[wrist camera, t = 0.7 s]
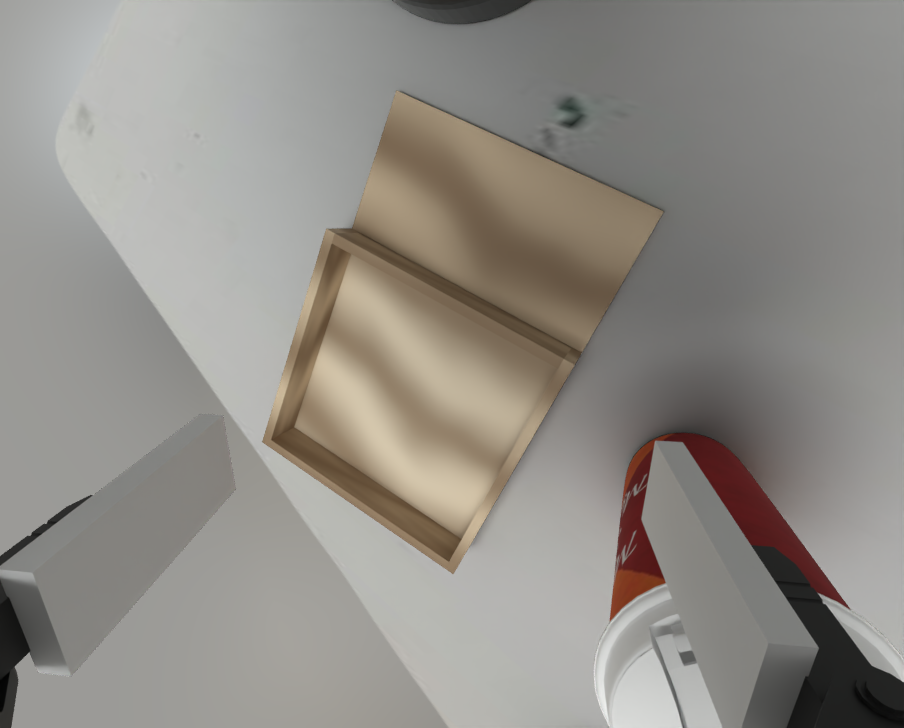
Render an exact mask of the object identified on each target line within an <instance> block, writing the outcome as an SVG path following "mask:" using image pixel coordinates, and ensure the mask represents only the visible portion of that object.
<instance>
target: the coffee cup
mask: <svg viewBox="0 0 904 728" xmlns="http://www.w3.org/2000/svg"><path fill="white" fill-rule="evenodd" d="M655 441H671V442H683V443H684V445H685V446H686V448H687V449H688V451H689V452H690V454H691V455H692V457H693V458H694V460H695V461H696V463H697V464H698V466H699V468H700V469H701V471H702V472H703V474H704V475H705V477H706V478H707V480H708V481H709V483H710V484H711V486H712V487H713V489H714V490H715V492H716V493H717V495H718V496H719V498H720V499H721V501H722V502H723V504H724V505H725V507H726V508H727V510H728V511H729V513H730V514H731V516H732V517H733V519H734V520H735V522H736V523H737V525H738V526H739V528H740V529H741V531H742V533H743V534H744V536H745V537H746V539H747V540H748V542H749V543H750V545H757V546H770V547H775V548H776V549H777V550H779V551H780V552H781V553H782V554H784V555H785V556H786V557H787V558H789V559H790V560H791V561H792V562H794V563H795V564H796V565H797V566H798V568H799V569H800V570H801V572H802V573H803V574H804V576H805V577H806V578H807V580H808V581H809V582H810V586H811V587H812V588H814V589H815V590H816V592H817V593H818V594H819V596H820V597H821V599H822V600H823V601H822V602H823V604H826V605H827V607H828V608H829V609H830V611H831V612H832V613H833V615H834V616H835V617H836V619H837V620H838V621H839V623H840V624H841V625H842V627H843V628H844V629H845V631H846V632H847V633H848V635H849V636H850V637H851V639H852V640H853V641H854V643H855V644H856V645H857V647H858V648H859V649H860V651H861V652H862V653H863V655H864V656H865V658H866V659H867V660H868V662H869V663H870V664H871V666H873V667H876V668H878V669H880V670H883V671H885V672H887V673H890V674H892V675H893V676H895V677H896V678H898V679H899V680H901V681H902V682H904V659H903V657H902V656H901V654H900V653H899V652H898V651H897V650H896V649H895V648H894V646H893V645H892V644H891V643H890V642H889V641H888V640H887V639H886V637H885V636H884V635H883V634H882V633H880V632H879V631H878V630H877V629H876V628H874V627H873V626H872V625H871V624H870V623H868V622H867V621H866V620H865V619H864V618H862V617H861V616H859V615H858V614H856V613H855V612H853V611H851V609H850V608H849V607H848V605H847V604H846V603H845V601H844V600H843V599H842V597H841V596H840V595H839V593H838V592H837V590H836V589H835V588H834V586H833V585H832V584H831V582H830V581H829V580H828V578H827V577H826V575H825V574H824V573H823V571H822V570H821V569H820V567H819V566H818V565H817V563H816V562H815V560H814V559H813V558H812V556H811V555H810V554H809V552H808V551H807V550H806V548H805V547H804V545H803V544H802V543H801V541H800V540H799V539H798V537H797V536H796V535H795V533H794V532H793V530H792V529H791V528H790V526H789V525H788V524H787V522H786V521H785V520H784V518H783V517H782V516H781V514H780V513H779V511H778V510H777V509H776V507H775V506H774V505H773V503H772V502H771V501H770V499H769V498H768V497H767V495H766V494H765V493H764V491H763V490H762V489H761V487H760V486H759V485H758V483H757V482H756V481H755V479H754V478H753V477H752V475H751V474H750V473H749V472H748V470H747V469H746V468H745V467H744V465H743V464H742V463H741V462H740V460H739V459H738V458H737V457H736V456H735V455H734V454H733V453H732V452H731V451H730V450H729V449H728V448H726V447H725V446H724V445H722V444H720V443H719V442H717V441H715V440H713V439H711V438H708V437H706V436H702V435H698V434H693V433H673V434H668V435H664V436H661V437H658V438H656V439H654V440H652V441H650V442H648V443H647V444H646V445H644V446H643V447H642V448H641V449H640V450H639V451H638V452H637V453H636V454H635V456H634V457H633V459H632V461H631V463H630V465H629V467H628V470H627V474H626V479H625V486H624V492H623V501H622V509H621V518H620V527H619V537H618V546H617V556H616V565H615V575H614V585H613V595H612V605H611V614H610V622H609V624H608V626H607V627H606V629H605V631H604V633H603V634H602V636H601V638H600V641H599V644H598V647H597V650H596V654H595V663H594V682H595V691H596V694H597V698H598V702H599V705H600V708H601V710H602V712H603V715H604V717H605V719H606V721H607V723H608V725H609V727H610V728H722V725H721V723H720V720H719V718H718V715H717V712H716V710H715V707H714V705H713V702H712V700H711V697H710V694H709V692H708V689H707V687H706V684H705V682H704V679H703V676H702V674H701V671H700V669H699V666H698V664H697V661H696V659H695V656H694V653H693V651H692V648H691V646H690V643H689V641H688V638H687V635H686V633H685V630H684V628H683V625H682V623H681V620H680V617H679V615H678V612H677V610H676V607H675V605H674V602H673V599H672V597H671V594H670V592H669V589H668V587H667V584H666V582H665V579H664V576H663V574H662V571H661V569H660V566H659V564H658V561H657V558H656V556H655V553H654V551H653V548H652V546H651V543H650V540H649V538H648V535H647V533H646V530H645V528H644V525H643V522H642V520H641V518H642V513H643V507H644V501H645V495H646V490H647V484H648V478H649V473H650V467H651V461H652V456H653V450H654V444H655Z"/></svg>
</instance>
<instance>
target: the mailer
mask: <svg viewBox="0 0 904 728" xmlns="http://www.w3.org/2000/svg"><path fill="white" fill-rule="evenodd" d="M663 212H664V211H662V210H659V209H657V208H655V207H653V206H650V205H648V204H646V203H644V202H642V201H639V200H637V199H635V198H633V197H631V196H628V195H626V194H624V193H622V192H620V191H617V190H615V189H613V188H611V187H609V186H606V185H604V184H602V183H600V182H597V181H595V180H593V179H591V178H589V177H586V176H584V175H582V174H580V173H578V172H575V171H573V170H571V169H569V168H567V167H564V166H562V165H560V164H558V163H556V162H553V161H551V160H549V159H547V158H544V157H542V156H540V155H538V154H536V153H533V152H531V151H529V150H527V149H525V148H522V147H520V146H518V145H516V144H514V143H511V142H509V141H507V140H505V139H503V138H500V137H498V136H496V135H494V134H491V133H489V132H487V131H485V130H483V129H480V128H478V127H476V126H474V125H472V124H469V123H467V122H465V121H463V120H461V119H458V118H456V117H454V116H452V115H450V114H447V113H445V112H443V111H441V110H438V109H436V108H434V107H432V106H430V105H427V104H425V103H423V102H421V101H419V100H416V99H414V98H412V97H410V96H408V95H405V94H403V93H401V92H399V91H397V90H396V93H395V96H394V99H393V103H392V106H391V109H390V112H389V115H388V118H387V121H386V124H385V127H384V131H383V134H382V137H381V140H380V143H379V146H378V149H377V152H376V155H375V158H374V162H373V165H372V168H371V171H370V174H369V177H368V180H367V183H366V186H365V190H364V193H363V196H362V199H361V202H360V205H359V208H358V211H357V214H356V217H355V221H354V224H353V227H352V229H326V231H325V235H324V238H323V241H322V245H321V248H320V251H319V255H318V258H317V261H316V265H315V268H314V271H313V275H312V278H311V281H310V285H309V288H308V291H307V295H306V298H305V301H304V305H303V308H302V311H301V315H300V318H299V321H298V325H297V328H296V331H295V335H294V338H293V341H292V345H291V348H290V351H289V355H288V358H287V361H286V365H285V368H284V371H283V375H282V378H281V381H280V385H279V388H278V391H277V395H276V398H275V401H274V405H273V408H272V411H271V415H270V418H269V421H268V425H267V428H266V431H265V435H264V438H263V441H262V442H263V443H264V444H266V445H267V446H269V447H270V448H272V449H273V450H274V451H276V452H277V453H279V454H280V455H282V456H283V457H285V458H286V459H287V460H289V461H290V462H292V463H293V464H295V465H296V466H298V467H299V468H300V469H302V470H303V471H305V472H306V473H308V474H309V475H311V476H312V477H314V478H315V479H316V480H318V481H319V482H321V483H322V484H324V485H325V486H327V487H328V488H329V489H331V490H332V491H334V492H335V493H337V494H338V495H340V496H341V497H342V498H344V499H345V500H347V501H348V502H350V503H351V504H353V505H354V506H355V507H357V508H358V509H360V510H361V511H363V512H364V513H366V514H367V515H368V516H370V517H371V518H373V519H374V520H376V521H377V522H379V523H380V524H381V525H383V526H384V527H386V528H387V529H389V530H390V531H392V532H393V533H394V534H396V535H397V536H399V537H400V538H402V539H403V540H405V541H406V542H407V543H409V544H410V545H412V546H413V547H415V548H416V549H418V550H419V551H421V552H422V553H423V554H425V555H426V556H428V557H429V558H431V559H432V560H434V561H435V562H436V563H438V564H439V565H441V566H442V567H444V568H445V569H447V570H448V571H449V572H451V573H452V574H454V572H455V570H456V569H457V567H458V565H459V564H460V562H461V560H462V558H463V557H464V555H465V553H466V552H467V550H468V548H469V547H470V545H471V543H472V541H473V540H474V538H475V536H476V534H477V533H478V531H479V529H480V528H481V526H482V524H483V522H484V521H485V519H486V517H487V515H488V514H489V512H490V510H491V509H492V507H493V505H494V503H495V502H496V500H497V498H498V497H499V495H500V493H501V491H502V490H503V488H504V486H505V484H506V483H507V481H508V479H509V478H510V476H511V474H512V472H513V471H514V469H515V467H516V466H517V464H518V462H519V460H520V459H521V457H522V455H523V453H524V452H525V450H526V448H527V447H528V445H529V443H530V441H531V440H532V438H533V436H534V434H535V433H536V431H537V429H538V428H539V426H540V424H541V422H542V421H543V419H544V417H545V416H546V414H547V412H548V410H549V409H550V407H551V405H552V403H553V402H554V400H555V398H556V397H557V395H558V393H559V391H560V390H561V388H562V386H563V385H564V383H565V381H566V379H567V378H568V376H569V374H570V372H571V371H572V369H573V367H574V366H575V364H576V362H577V360H578V359H579V357H580V355H581V353H582V352H583V350H584V348H585V347H586V345H587V343H588V341H589V340H590V338H591V336H592V335H593V333H594V331H595V329H596V328H597V326H598V324H599V322H600V321H601V319H602V317H603V316H604V314H605V312H606V310H607V309H608V307H609V305H610V304H611V302H612V300H613V298H614V297H615V295H616V293H617V291H618V290H619V288H620V286H621V285H622V283H623V281H624V279H625V278H626V276H627V274H628V272H629V271H630V269H631V267H632V266H633V264H634V262H635V260H636V259H637V257H638V255H639V254H640V252H641V250H642V248H643V247H644V245H645V243H646V241H647V240H648V238H649V236H650V235H651V233H652V231H653V229H654V228H655V226H656V224H657V223H658V221H659V219H660V217H661V216H662V214H663Z"/></svg>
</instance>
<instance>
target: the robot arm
mask: <svg viewBox="0 0 904 728" xmlns="http://www.w3.org/2000/svg"><path fill="white" fill-rule="evenodd" d="M393 1H394V2H395V3H397V4H398V5H399V6H401V7H402V8H404V9H406V10H407V11H409V12H411V13H413V14H415V15H417V16H420V17H423V18H425V19H428V20H432V21H437V22H443V23H455V24H460V23H472V22H479V21H483V20H488V19H491V18H494V17H498V16H501V15H503V14H505V13H508V12H510V11H512V10H514V9H516V8H518V7H520V6H522V5H524V4H526V3H527V2H529V1H531V0H393ZM235 490H236V487H235V481H234V475H233V469H232V463H231V458H230V452H229V447H228V441H227V435H226V429H225V424H224V417H223V415H212V414H199V415H198V416H197V417H195V418H194V419H193V420H191V421H190V422H189V423H187V424H186V425H185V426H184V427H182V428H181V429H180V430H178V431H177V432H176V433H174V434H173V435H172V436H170V437H169V438H168V439H166V440H165V441H164V442H162V443H161V444H160V445H158V446H157V447H156V448H155V449H153V450H152V451H151V452H149V453H148V454H147V455H145V456H144V457H143V458H141V459H140V460H139V461H137V462H136V463H135V464H133V465H132V466H131V467H129V468H128V469H127V470H126V471H124V472H123V473H122V474H120V475H119V476H118V477H117V478H115V479H114V480H112V482H110V483H108V484H107V485H106V486H105V487H103V488H102V489H101V490H99V491H98V492H97V493H95V494H94V495H90V496H88V497H86V498H84V499H82V500H80V501H78V502H76V503H74V504H72V505H69V506H68V507H66V508H65V509H63V510H62V511H61V512H59V513H58V514H56V515H55V516H54V517H52V518H51V519H50V520H48V522H47V524H43V525H42V526H40V527H39V528H38V529H36V530H35V531H33V532H32V535H31V536H27V537H25V538H24V539H23V540H21V541H20V542H19V543H17V544H16V545H15V546H13V547H12V548H11V549H9V550H8V551H7V552H5V553H4V554H2V555H1V556H0V728H11V725H12V718H13V712H14V706H15V698H16V693H17V686H18V677H17V672H16V669H15V665H16V664H17V663H19V662H20V661H21V660H22V659H23V657H25V656H26V655H27V654H28V653H29V652H30V655H31V657H32V659H33V662H34V664H35V667H36V669H37V672H38V673H45V674H53V675H62V676H70V677H71V676H72V675H73V674H74V673H75V672H76V671H77V670H78V668H79V667H80V666H81V665H82V664H83V663H84V662H85V661H86V659H87V658H88V657H89V656H90V655H91V654H92V652H93V651H94V650H95V649H96V648H97V647H98V646H99V645H100V643H101V642H102V641H103V640H104V639H105V638H106V637H107V636H108V634H109V633H110V632H111V631H112V630H113V629H114V628H115V626H116V625H117V624H118V623H119V622H120V621H121V619H122V618H123V617H124V616H125V615H126V614H127V613H128V612H129V610H130V609H131V608H132V607H133V606H134V605H135V604H136V603H137V601H138V600H139V599H140V598H141V597H142V596H143V595H144V593H145V592H146V591H147V590H148V589H149V588H150V587H151V585H152V584H153V583H154V582H155V581H156V580H157V579H158V577H159V576H160V575H161V574H162V573H163V572H164V571H165V569H166V568H167V567H168V566H169V565H170V564H171V563H172V561H173V560H174V559H175V558H176V557H177V556H178V555H179V554H180V552H181V551H182V550H183V549H184V548H185V547H186V546H187V544H188V543H189V542H190V541H191V540H192V539H193V538H194V537H195V535H196V534H197V533H198V532H199V531H200V530H201V529H202V527H203V526H204V525H205V524H206V523H207V522H208V521H209V519H210V518H211V517H212V516H213V515H214V514H215V513H216V511H217V510H218V509H219V508H220V507H221V506H222V505H223V504H224V502H225V501H226V500H227V499H228V498H229V497H230V496H231V494H232V493H233V492H234V491H235ZM641 520H642V522H643V525H644V528H645V530H646V533H647V535H648V538H649V540H650V543H651V546H652V548H653V551H654V553H655V556H656V558H657V561H658V564H659V566H660V569H661V571H662V574H663V576H664V579H665V582H666V584H667V587H668V589H669V592H670V594H671V597H672V599H673V602H674V605H675V607H676V610H677V612H678V615H679V617H680V620H681V623H682V625H683V628H684V630H685V633H686V635H687V638H688V641H689V643H690V646H691V648H692V651H693V653H694V656H695V659H696V661H697V664H698V666H699V669H700V671H701V674H702V676H703V679H704V682H705V684H706V687H707V689H708V692H709V694H710V697H711V700H712V702H713V705H714V707H715V710H716V712H717V715H718V718H719V720H720V723H721V725H722V728H904V682H902V681H901V680H899V679H898V678H896V677H895V676H893V675H892V674H890V673H887V672H885V671H883V670H880V669H878V668H876V667H873V666H871V664H870V663H869V662H868V660H867V659H866V658H865V656H864V655H863V653H862V652H861V651H860V649H859V648H858V647H857V645H856V644H855V643H854V641H853V640H852V639H851V637H850V636H849V635H848V633H847V632H846V631H845V629H844V628H843V627H842V625H841V624H840V623H839V621H838V620H837V619H836V617H835V616H834V615H833V613H832V612H831V611H830V609H829V608H828V607H827V605H826V604H823V602H822V601H823V600H822V599H821V597H820V596H819V594H818V593H817V592H816V590H815V589H814V588H812V587H811V586H810V582H809V581H808V580H807V578H806V577H805V576H804V574H803V573H802V572H801V570H800V569H799V568H798V566H797V565H796V564H795V563H794V562H792V561H791V560H790V559H789V558H787V557H786V556H785V555H784V554H782V553H781V552H780V551H779V550H777V549H776V548H775V547H770V546H757V545H750V543H749V542H748V540H747V539H746V537H745V536H744V534H743V533H742V531H741V529H740V528H739V526H738V525H737V523H736V522H735V520H734V519H733V517H732V516H731V514H730V513H729V511H728V510H727V508H726V507H725V505H724V504H723V502H722V501H721V499H720V498H719V496H718V495H717V493H716V492H715V490H714V489H713V487H712V486H711V484H710V483H709V481H708V480H707V478H706V477H705V475H704V474H703V472H702V471H701V469H700V468H699V466H698V464H697V463H696V461H695V460H694V458H693V457H692V455H691V454H690V452H689V451H688V449H687V448H686V446H685V445H684V443H683V442H671V441H655V444H654V450H653V456H652V461H651V467H650V473H649V478H648V484H647V490H646V495H645V501H644V507H643V513H642V518H641Z"/></svg>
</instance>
